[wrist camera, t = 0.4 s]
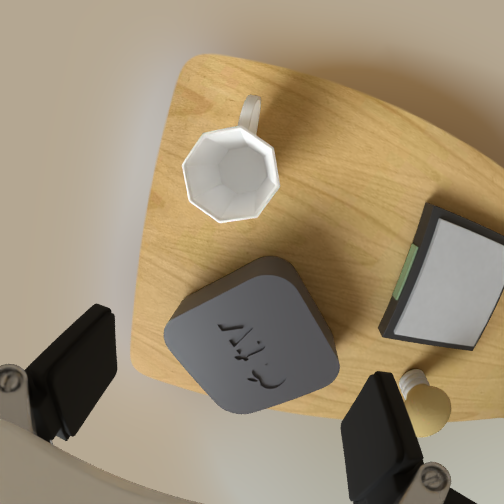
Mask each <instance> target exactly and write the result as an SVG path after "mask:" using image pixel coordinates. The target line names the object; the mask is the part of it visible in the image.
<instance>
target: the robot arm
mask: <svg viewBox="0 0 504 504" xmlns="http://www.w3.org/2000/svg"><path fill="white" fill-rule="evenodd" d="M116 372H117V356H116V339H115V316H114V314H113V313H111V309H110V308H108V307H105V306H102V305H99V304H94V305H93V306H92V307H91V308H90V309H88V310H87V311H86V312H85V313H84V314H83V315H82V316H81V317H80V318H79V319H77V320H76V321H75V322H74V323H73V324H72V325H71V326H70V327H69V328H68V329H67V330H65V331H64V332H63V333H62V334H61V335H60V336H59V337H58V338H57V339H56V340H55V341H54V342H53V343H52V344H51V345H50V346H49V347H48V348H47V349H46V350H44V351H43V352H42V353H41V354H40V355H39V356H38V357H37V358H36V359H35V360H34V361H33V362H32V363H31V364H30V365H29V366H28V367H27V368H26V369H25V370H23V369H22V368H21V367H19V366H17V365H14V364H5V365H1V366H0V504H202V503H197V502H193V501H189V500H186V499H182V498H179V497H175V496H172V495H168V494H165V493H162V492H158V491H156V490H153V489H150V488H146V487H144V486H141V485H138V484H136V483H133V482H130V481H128V480H125V479H123V478H120V477H118V476H115V475H113V474H111V473H108V472H106V471H104V470H102V469H99V468H97V467H95V466H93V465H91V464H89V463H87V462H85V461H83V460H81V459H79V458H77V457H74V456H73V455H70V454H69V453H67V452H65V451H63V450H61V449H59V448H58V447H56V446H54V445H53V443H52V440H53V439H54V437H55V436H58V437H60V438H62V439H63V440H65V441H67V440H68V439H69V437H70V436H75V435H76V433H77V432H78V430H79V429H80V427H81V426H82V424H83V423H84V421H85V420H86V418H87V417H88V415H89V414H90V412H91V411H92V409H93V408H94V406H95V405H96V403H97V402H98V400H99V399H100V397H101V396H102V394H103V393H104V391H105V390H106V389H107V387H108V386H109V384H110V383H111V381H112V380H113V378H114V377H115V375H116ZM341 435H342V442H343V449H344V457H345V465H346V473H347V482H348V489H349V498H350V500H351V501H353V504H477V503H475V502H473V501H472V500H470V499H468V498H466V497H465V496H463V495H462V494H460V493H458V492H456V491H455V490H453V489H452V488H450V485H451V476H450V474H449V472H448V470H447V469H446V468H445V467H444V466H442V465H441V464H439V463H436V462H428V463H425V464H424V462H423V455H422V451H421V448H420V445H419V443H418V440H417V437H416V434H415V431H414V428H413V426H412V423H411V420H410V417H409V415H408V412H407V409H406V407H405V404H404V402H403V399H402V396H401V394H400V391H399V389H398V386H397V384H396V381H395V379H394V376H393V374H392V373H389V372H380V371H377V372H375V373H374V375H370V376H369V378H368V380H367V381H366V383H365V385H364V387H363V388H362V390H361V392H360V393H359V395H358V397H357V398H356V400H355V402H354V403H353V405H352V406H351V408H350V410H349V411H348V413H347V414H346V416H345V417H344V419H343V421H342V423H341Z"/></svg>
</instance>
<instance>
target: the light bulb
mask: <svg viewBox="0 0 504 504" xmlns="http://www.w3.org/2000/svg"><path fill="white" fill-rule="evenodd" d="M399 386H400V389H401V391H402V394H403V396H404V399H405V402H404V404H405V407H406V409H407V412H408V415H409V417H410V420H411V423H412V426H413V428H414V431H415V434H416V437H427V436H431V435H433V434H435V433H437V432H438V431H440V430H441V429H442V428H443V427H444V426H445V424H446V423H447V421H448V419H449V417H450V414H451V402H450V399H449V397H448V396H447V394H446V393H445V392H444V391H442V390H441V389H439V388H437V387H433V386H430V385H429V382H428V381H427V378H426V377H425V375H424V373H423V371H422V370H419V369H413V370H410V371H408V372H406V373H405V374H404V375H403V376H402V377H401V379H400V381H399Z"/></svg>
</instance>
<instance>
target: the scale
mask: <svg viewBox="0 0 504 504" xmlns="http://www.w3.org/2000/svg"><path fill="white" fill-rule="evenodd" d="M503 290H504V236H503V235H501V234H499V233H496V232H494V231H492V230H490V229H488V228H486V227H484V226H482V225H479V224H477V223H475V222H473V221H470V220H468V219H466V218H464V217H461V216H459V215H457V214H454V213H452V212H449V211H447V210H445V209H442V208H440V207H437V206H435V205H432V204H430V203H427V202H426V203H425V206H424V209H423V213H422V216H421V219H420V222H419V225H418V228H417V231H416V234H415V237H414V240H413V243H412V245H411V248H410V250H409V253H408V256H407V259H406V261H405V264H404V267H403V269H402V272H401V275H400V277H399V280H398V282H397V285H396V287H395V289H394V292H393V294H392V298H391V300H390V302H389V305H388V307H387V309H386V311H385V314H384V316H383V318H382V320H381V322H380V325H379V327H378V329H379V331H380V333H381V335H382V337H384V338H390V339H395V340H401V341H407V342H413V343H420V344H426V345H433V346H440V347H447V348H454V349H461V350H469V351H473V349H474V347H475V346H476V344H477V342H478V340H479V339H480V337H481V335H482V333H483V331H484V329H485V327H486V325H487V324H488V322H489V320H490V318H491V316H492V314H493V311H494V309H495V307H496V305H497V303H498V301H499V299H500V296H501V294H502V292H503Z"/></svg>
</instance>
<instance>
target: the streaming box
mask: <svg viewBox="0 0 504 504" xmlns="http://www.w3.org/2000/svg"><path fill="white" fill-rule="evenodd" d="M164 340H165V343H166V345H167V347H168V349H169V350H170V351H171V353H172V354H173V355H174V356H175V357H176V359H177V360H178V361H179V362H180V363H181V365H182V366H183V367H184V368H185V369H186V370H187V372H188V373H189V374H190V375H191V376H192V377H193V378H194V380H195V381H196V382H197V383H198V384H199V385H200V386H201V387H202V389H203V390H204V391H205V392H206V393H207V394H208V395H209V396H210V397H211V398H212V399H213V400H214V402H215V403H216V404H217V405H218V406H220V407H221V408H222V409H224V410H226V411H229V412H232V413H236V414H249V413H253V412H256V411H260V410H263V409H266V408H269V407H272V406H275V405H278V404H281V403H284V402H287V401H290V400H293V399H295V398H298V397H301V396H303V395H306V394H309V393H311V392H314V391H316V390H319V389H321V388H324V387H326V386H327V385H329V384H330V383H332V382H333V381H334V380H335V378H336V377H337V375H338V373H339V369H340V365H339V360H338V356H337V351H336V347H335V343H334V338H333V335H332V333H331V331H330V329H329V327H328V325H327V324H326V322H325V320H324V318H323V317H322V315H321V313H320V311H319V310H318V308H317V306H316V304H315V303H314V301H313V299H312V297H311V296H310V294H309V292H308V290H307V289H306V287H305V285H304V283H303V282H302V280H301V278H300V276H299V275H298V273H297V271H296V270H295V268H294V267H293V266H292V265H291V264H290V263H289V262H287V261H286V260H284V259H281V258H279V257H273V256H268V257H262V258H259V259H257V260H255V261H253V262H251V263H249V264H247V265H245V266H243V267H242V268H240V269H238V270H236V271H234V272H232V273H230V274H229V275H227V276H225V277H223V278H221V279H219V280H217V281H215V282H214V283H212V284H210V285H208V286H206V287H204V288H202V289H200V290H199V291H197V292H195V293H193V294H191V295H189V296H187V297H186V298H185V299H184V300H183V301H182V302H181V303H180V305H179V306H178V308H177V309H176V311H175V312H174V314H173V315H172V317H171V319H170V320H169V322H168V323H167V325H166V327H165V329H164Z"/></svg>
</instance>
